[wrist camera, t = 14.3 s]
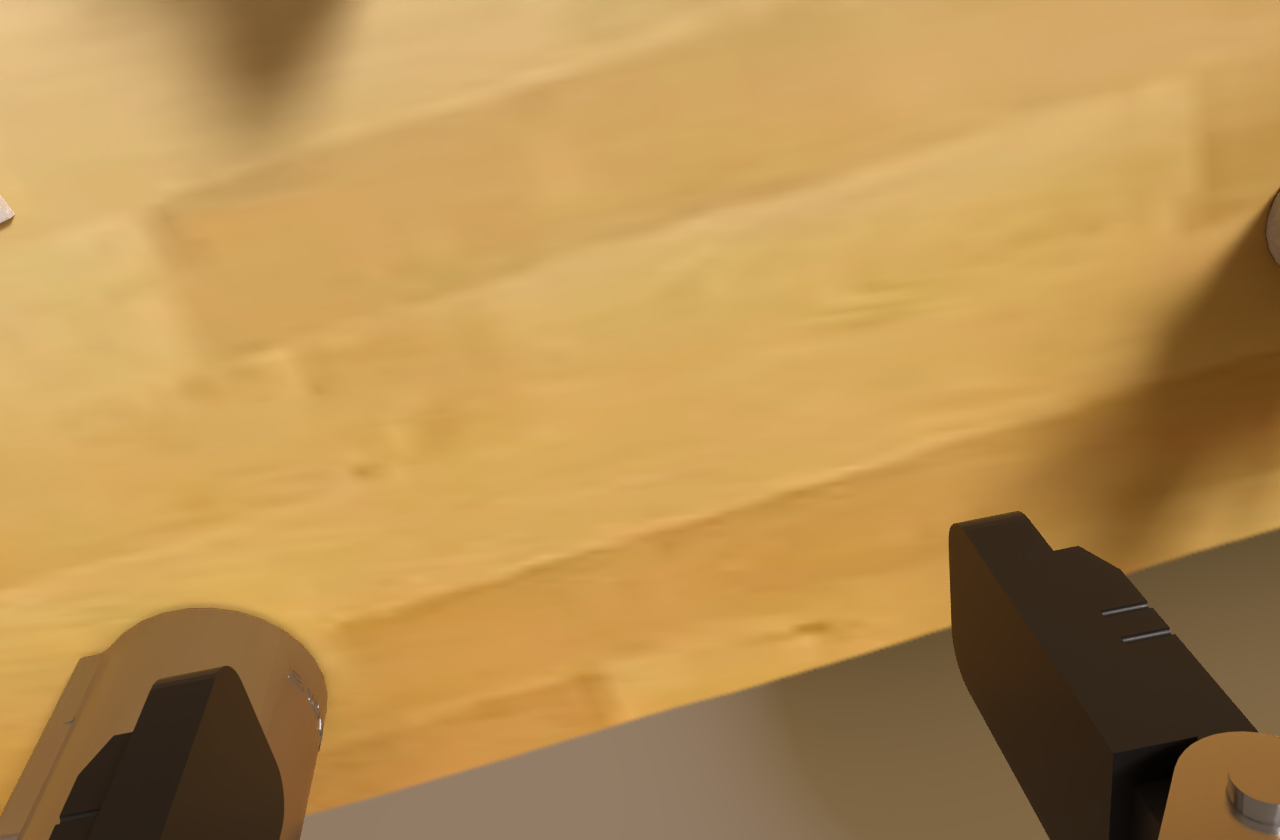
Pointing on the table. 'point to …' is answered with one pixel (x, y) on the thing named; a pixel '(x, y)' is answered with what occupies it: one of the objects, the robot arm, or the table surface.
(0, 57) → the table surface
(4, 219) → the white plastic strip tool
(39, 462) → the table surface
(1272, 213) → the house plant
